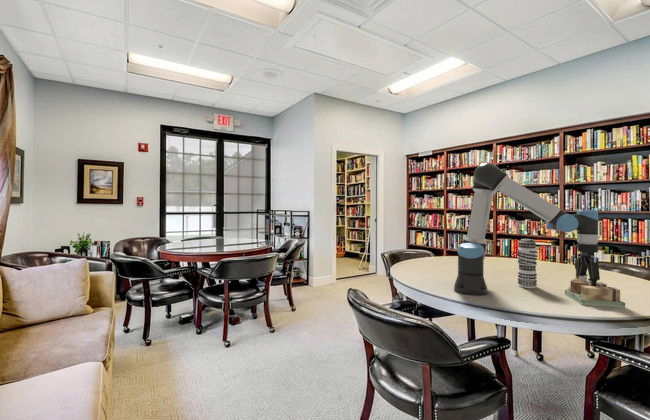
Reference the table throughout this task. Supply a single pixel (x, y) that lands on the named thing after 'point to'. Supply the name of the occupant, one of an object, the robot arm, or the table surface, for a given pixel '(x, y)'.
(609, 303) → the pale green flat frame
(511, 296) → the table surface
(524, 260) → the decorative candle
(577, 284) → the walnut bar
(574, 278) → the hand bell
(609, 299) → the oak bar
